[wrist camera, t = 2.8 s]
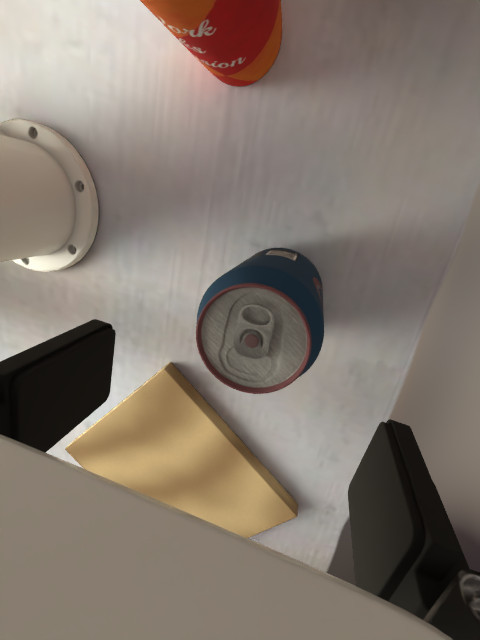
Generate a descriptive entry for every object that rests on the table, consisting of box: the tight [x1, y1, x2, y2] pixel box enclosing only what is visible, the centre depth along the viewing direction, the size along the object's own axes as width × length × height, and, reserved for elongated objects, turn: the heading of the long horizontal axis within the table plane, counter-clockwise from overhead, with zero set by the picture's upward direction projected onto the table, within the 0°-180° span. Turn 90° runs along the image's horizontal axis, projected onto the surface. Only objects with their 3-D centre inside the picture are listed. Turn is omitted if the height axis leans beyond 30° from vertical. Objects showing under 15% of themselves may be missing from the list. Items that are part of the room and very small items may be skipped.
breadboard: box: [65, 362, 298, 538], centre depth 35 cm, size 20×18×2 cm
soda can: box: [196, 248, 324, 394], centre depth 21 cm, size 7×7×12 cm
